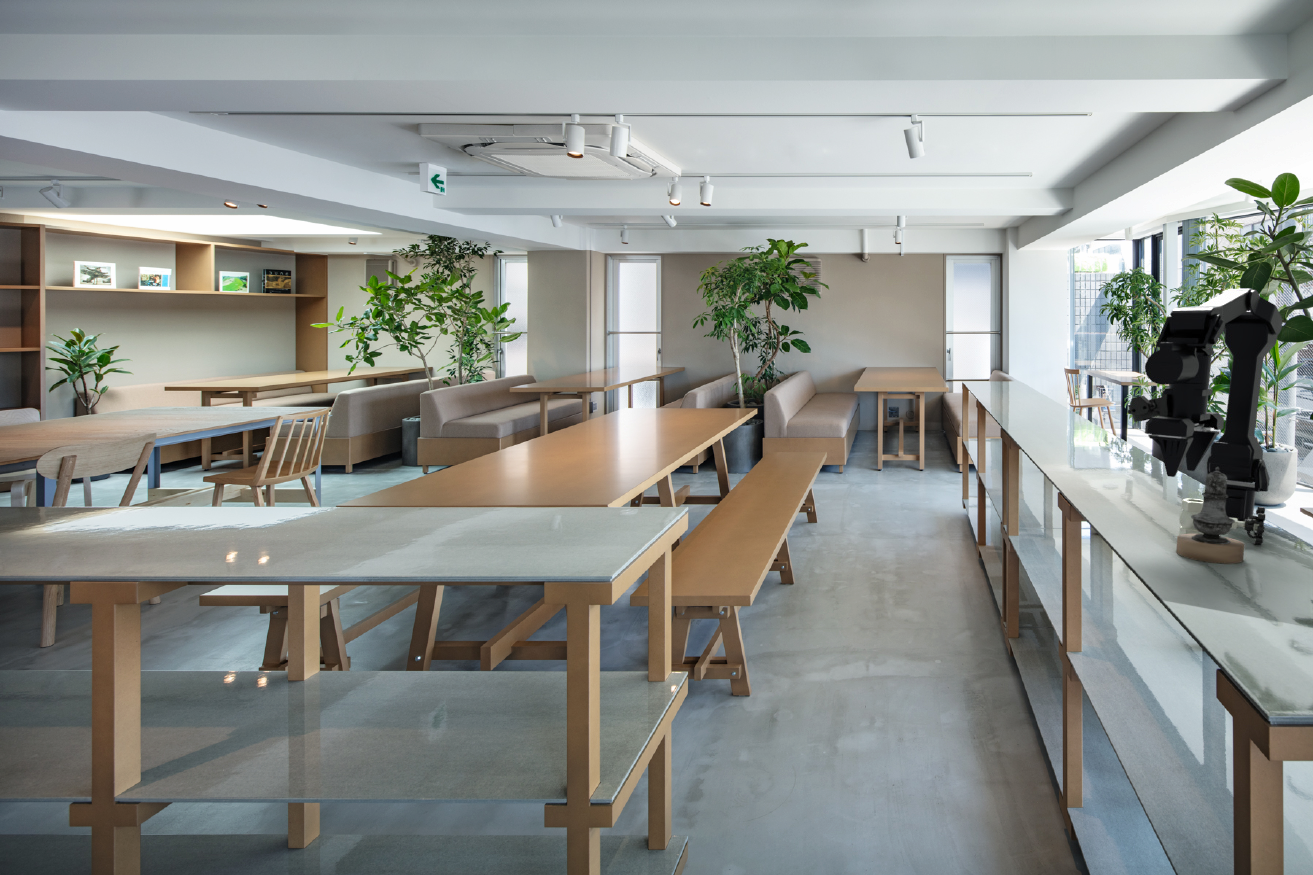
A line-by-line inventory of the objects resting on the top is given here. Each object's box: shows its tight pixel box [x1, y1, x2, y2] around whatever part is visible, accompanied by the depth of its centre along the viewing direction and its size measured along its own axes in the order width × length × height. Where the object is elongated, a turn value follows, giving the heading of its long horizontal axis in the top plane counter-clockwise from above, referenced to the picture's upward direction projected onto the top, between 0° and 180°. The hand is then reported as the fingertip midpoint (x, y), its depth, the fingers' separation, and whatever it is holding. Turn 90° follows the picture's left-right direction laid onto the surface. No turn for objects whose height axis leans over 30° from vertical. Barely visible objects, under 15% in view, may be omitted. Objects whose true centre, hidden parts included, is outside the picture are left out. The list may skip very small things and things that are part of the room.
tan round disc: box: [1175, 534, 1245, 565], centre depth 134 cm, size 9×9×2 cm
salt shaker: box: [1191, 467, 1235, 545], centre depth 133 cm, size 6×6×12 cm
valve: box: [1178, 498, 1266, 546], centre depth 144 cm, size 7×7×12 cm
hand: (1181, 473), depth 144 cm, fingers open, 9 cm apart
